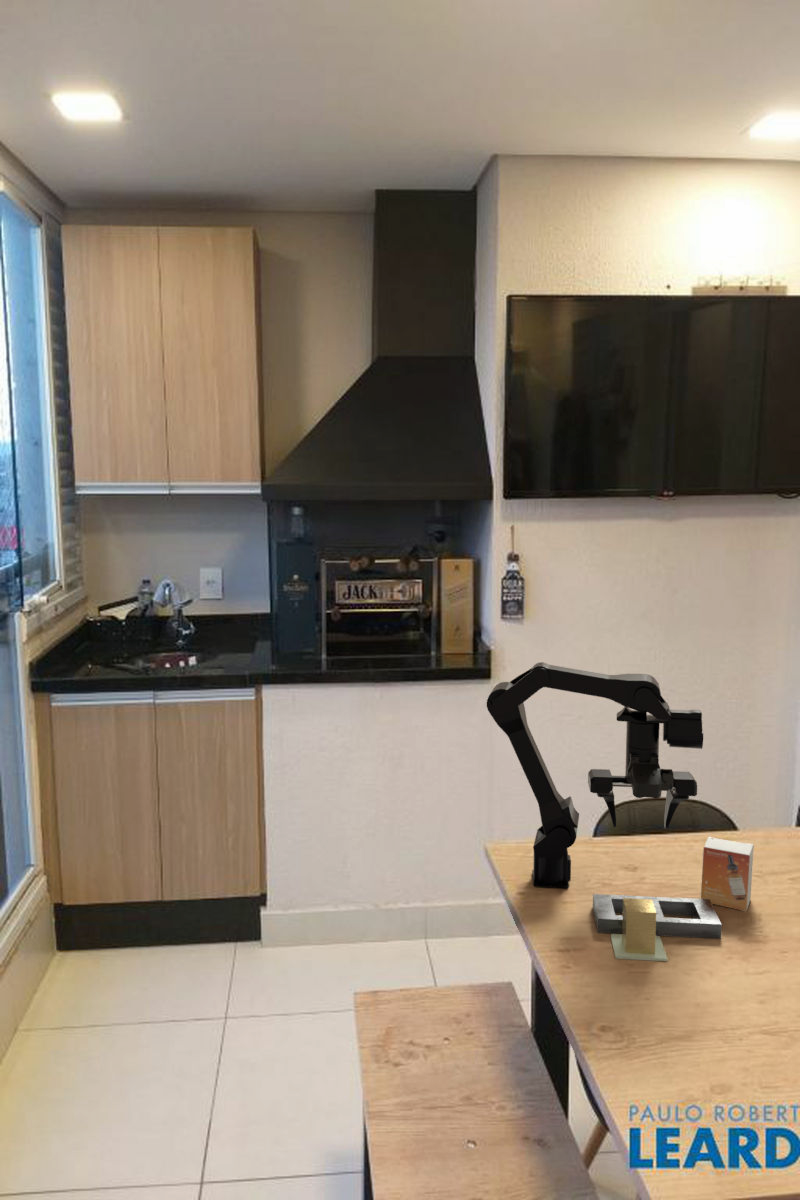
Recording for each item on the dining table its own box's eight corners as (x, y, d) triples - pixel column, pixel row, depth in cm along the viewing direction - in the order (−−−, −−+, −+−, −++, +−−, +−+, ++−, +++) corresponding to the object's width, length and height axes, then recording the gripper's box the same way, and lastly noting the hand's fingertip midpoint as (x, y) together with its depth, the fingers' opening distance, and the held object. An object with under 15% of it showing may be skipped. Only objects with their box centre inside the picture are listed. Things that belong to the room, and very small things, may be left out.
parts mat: (615, 958, 143) (615, 956, 143) (610, 936, 150) (610, 934, 150) (667, 961, 142) (667, 958, 142) (659, 938, 149) (660, 936, 149)
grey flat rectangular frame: (597, 932, 151) (598, 918, 151) (592, 907, 160) (593, 894, 160) (721, 938, 149) (721, 924, 149) (709, 912, 158) (709, 899, 158)
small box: (699, 902, 162) (702, 846, 160) (705, 889, 167) (707, 835, 165) (747, 912, 158) (750, 855, 157) (751, 898, 163) (754, 843, 162)
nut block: (625, 952, 144) (626, 911, 143) (621, 938, 149) (623, 898, 148) (654, 954, 144) (656, 912, 143) (650, 939, 148) (651, 899, 147)
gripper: (594, 757, 156) (592, 843, 159) (705, 760, 154) (702, 847, 156) (588, 738, 167) (586, 819, 170) (692, 741, 165) (689, 822, 167)
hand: (640, 827), depth 165 cm, fingers open, 9 cm apart
